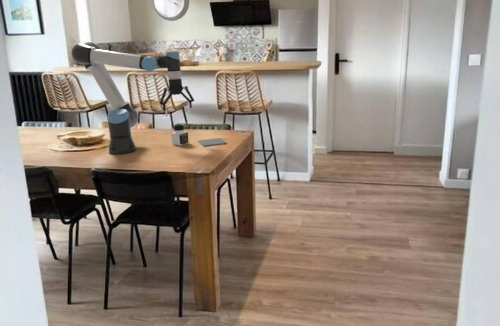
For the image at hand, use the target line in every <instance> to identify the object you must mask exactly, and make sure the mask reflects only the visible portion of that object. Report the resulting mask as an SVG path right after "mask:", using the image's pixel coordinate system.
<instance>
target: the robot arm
mask: <svg viewBox="0 0 500 326" xmlns="http://www.w3.org/2000/svg"><path fill="white" fill-rule="evenodd" d="M71 56H72V59H73V60H74V61H75V62H76V63H77V64H80V65H83V66H84V68H85V69H86V71H89V72H90V74H91V75H92V77H93V78H94V80H95V82H96V83H97V85H98V87H99V88H100V90H101V92H102V94H103V96H104V97H105V99H106V100H107V101H106V102H108V104H109V106H110V107H111V110H110V111H109V112H107V116H106V117H107V125H108V131H109V139H110V140H109V144H108V153H109V154H111V153H112V154H111V155H125V154H129V153H134V152H135V151H136V150H137V147H136V144H135V141H134V140H133V138H132V130H131V128H133V127H135V125H136V124H137V122H138V120H139V115H138V114H139V113H138V112H137V111H136V109H135V108H133V107H132V106H131V105H130V102H127V101H125V99H124V97H123V95H122V94H121V91H120V90H119V89H118V87H117V85H116V83H115V81H114V80H113V78H112V77H111V74H110V72H109V71H108V69H107V68H106V65H107V66H114V67H121V68H129V69H136V70H143V71H146V72H153V71H155V70H159V69H161V70H162V69H167V78H168V87H164V88H163V91H162V95H161V97H160V100H159V103H158V104H160V105H162V109H163V111H165V116H166V117H168V116H169V114H168V105H167V103H168V102H169V100H170V99H171V97H172V96H173V95H174V96H176V95H182V97H183V98H184V99H185V100H186V101H187V111H188V113H187V114H189V115H191V109H192V106H193V105H192V103H193V102H194V101H195V99H194V97H193V95H192V94H191V92H190V90H189V88H188V86H187V85H184V86H183V81H182V72H181V70H182V69H181V59H180V52H179V51H177V50H171V51H170V50H168V51H166V52H165V54H163V55H161V54H160V55H152V54H151V55H141V54H134V53H126V52H125V53H124V52H118V51H111V50H105V49H102V48H101V47H100V46H99V45H98V44H96V43H94V42H91V41H90V42H89V41H88V42H79V43H76V44H74V45H73V47H72V49H71ZM183 90H184V91H185V92H186V94H187V95H188V96H187V95H186V94H185V93H184V92H183ZM168 91H169V93H168V95H167V96H166V94H167V92H168ZM165 96H166V98H165Z"/></svg>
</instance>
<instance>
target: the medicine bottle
mask: <svg viewBox="0 0 500 326" xmlns="http://www.w3.org/2000/svg"><path fill="white" fill-rule="evenodd" d="M189 141H190V140H189V132H188V131H185V125H184V124H183V123H177V124H174V125H173V132H171V144H172V145H175V146H184V145H187V144H189Z"/></svg>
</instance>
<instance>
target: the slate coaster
mask: <svg viewBox="0 0 500 326" xmlns="http://www.w3.org/2000/svg"><path fill="white" fill-rule="evenodd" d="M197 142H198V143H199V144H200V145H201V146H203V147H204V148H205V147H210V146H211V147H213V146H214V147H215V146H220V145H221V146H222V145H227V141H225V140H224V139H223V138H221V137H217V138H215V137H214V138H207V139H200V140H198V141H197Z"/></svg>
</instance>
